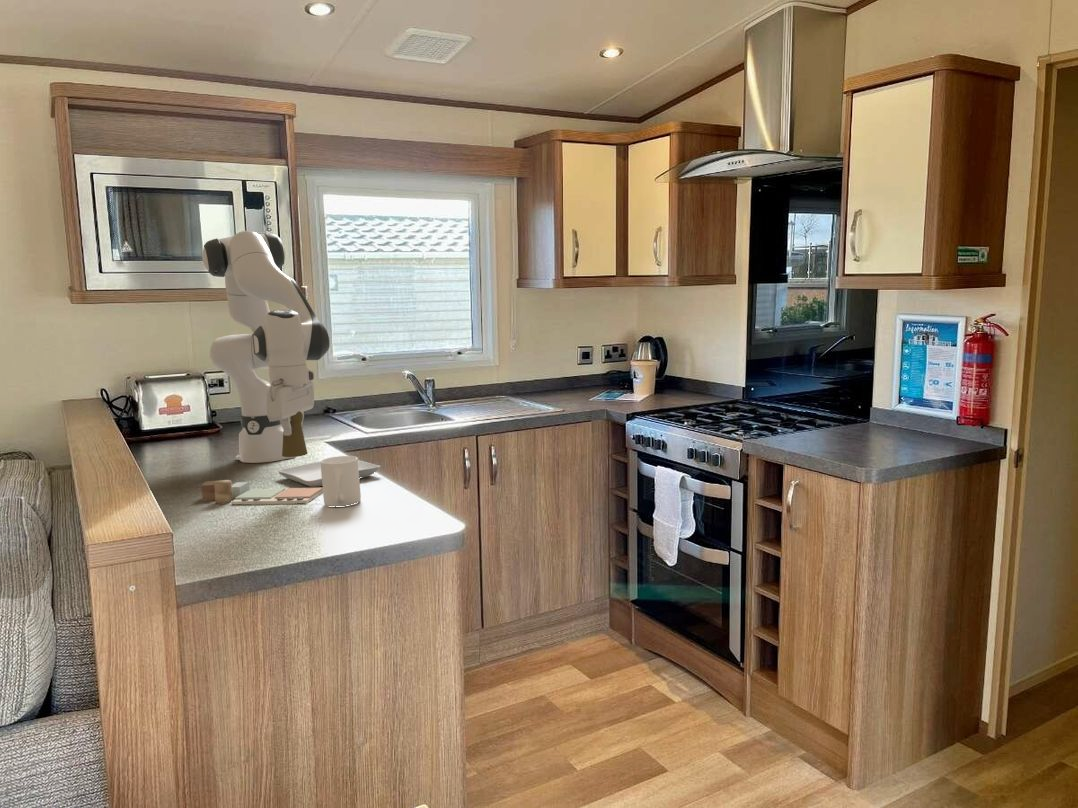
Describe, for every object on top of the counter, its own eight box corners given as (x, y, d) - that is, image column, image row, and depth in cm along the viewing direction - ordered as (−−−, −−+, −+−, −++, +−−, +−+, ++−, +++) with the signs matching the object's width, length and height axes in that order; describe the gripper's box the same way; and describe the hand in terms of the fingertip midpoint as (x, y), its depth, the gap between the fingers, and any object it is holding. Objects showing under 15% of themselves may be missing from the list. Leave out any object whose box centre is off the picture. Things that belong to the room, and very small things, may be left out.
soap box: (238, 493, 206) (237, 482, 206) (249, 493, 206) (248, 482, 205) (229, 498, 201) (228, 487, 201) (240, 498, 201) (239, 486, 200)
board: (252, 493, 205) (251, 488, 205) (323, 491, 203) (323, 487, 203) (231, 504, 194) (231, 500, 194) (306, 503, 192) (306, 498, 192)
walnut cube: (206, 497, 204) (205, 481, 203) (223, 495, 204) (221, 480, 204) (202, 500, 200) (201, 485, 199) (219, 499, 200) (217, 484, 200)
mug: (319, 513, 183) (316, 467, 181) (326, 500, 194) (322, 457, 193) (358, 510, 184) (354, 465, 182) (362, 497, 195) (359, 454, 194)
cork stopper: (222, 499, 200) (221, 479, 199) (236, 500, 199) (234, 480, 198) (211, 503, 196) (210, 483, 195) (225, 504, 195) (224, 484, 194)
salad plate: (276, 480, 220) (275, 468, 219) (347, 467, 233) (346, 455, 233) (309, 493, 204) (308, 480, 203) (383, 478, 217) (382, 465, 216)
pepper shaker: (312, 453, 198) (309, 409, 196) (291, 458, 193) (287, 413, 192) (297, 451, 202) (294, 408, 200) (277, 455, 197) (273, 411, 195)
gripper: (282, 381, 184) (288, 440, 186) (316, 372, 204) (321, 425, 206) (256, 382, 185) (262, 441, 187) (293, 373, 205) (297, 426, 207)
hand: (293, 432), depth 197 cm, fingers closed on pepper shaker, 4 cm apart
